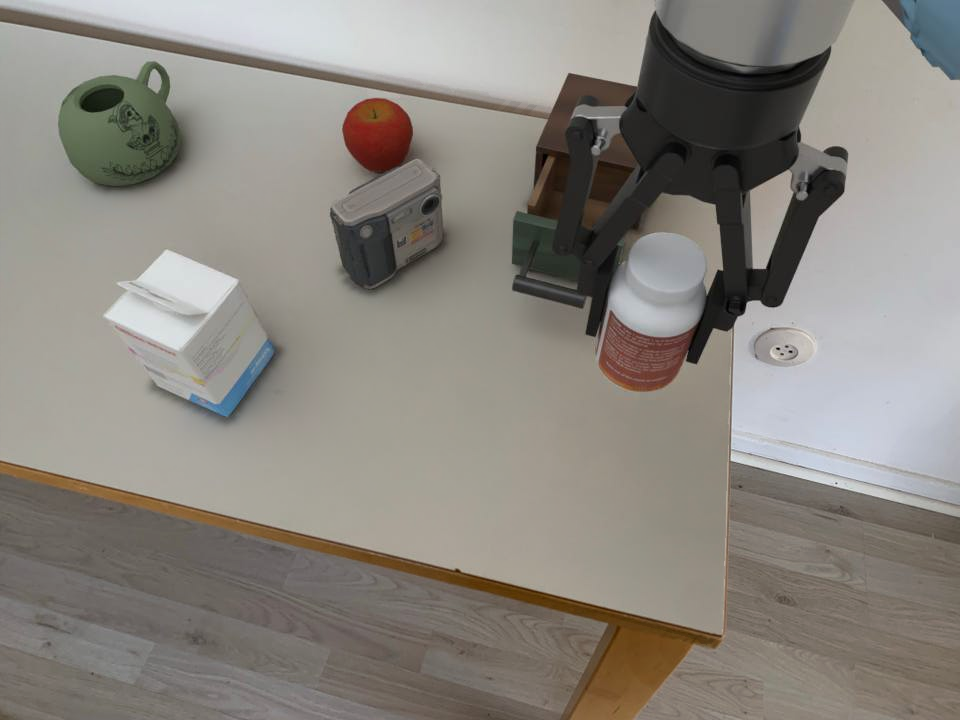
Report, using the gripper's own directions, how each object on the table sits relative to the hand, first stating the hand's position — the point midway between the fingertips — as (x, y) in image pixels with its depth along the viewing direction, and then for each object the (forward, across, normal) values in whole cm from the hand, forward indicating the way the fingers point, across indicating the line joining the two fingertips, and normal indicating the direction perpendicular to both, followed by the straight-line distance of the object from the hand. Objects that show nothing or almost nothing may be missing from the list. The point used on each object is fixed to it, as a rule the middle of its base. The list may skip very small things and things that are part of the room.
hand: (644, 333), depth 50 cm
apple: (+20, +34, -29) cm, 49 cm away
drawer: (+19, +9, -20) cm, 29 cm away
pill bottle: (+4, 0, 0) cm, 4 cm away
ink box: (+20, +38, +3) cm, 43 cm away
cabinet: (+20, +9, -34) cm, 40 cm away
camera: (+20, +27, -16) cm, 37 cm away
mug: (+20, +63, -22) cm, 70 cm away
